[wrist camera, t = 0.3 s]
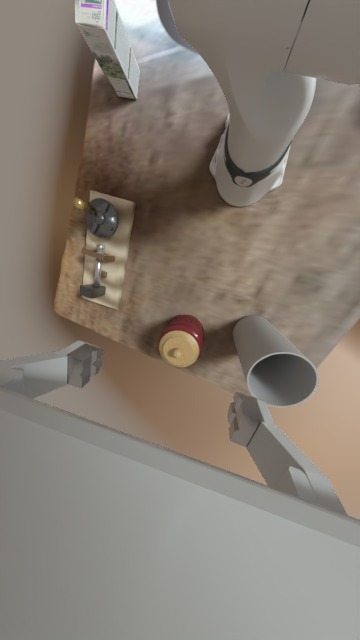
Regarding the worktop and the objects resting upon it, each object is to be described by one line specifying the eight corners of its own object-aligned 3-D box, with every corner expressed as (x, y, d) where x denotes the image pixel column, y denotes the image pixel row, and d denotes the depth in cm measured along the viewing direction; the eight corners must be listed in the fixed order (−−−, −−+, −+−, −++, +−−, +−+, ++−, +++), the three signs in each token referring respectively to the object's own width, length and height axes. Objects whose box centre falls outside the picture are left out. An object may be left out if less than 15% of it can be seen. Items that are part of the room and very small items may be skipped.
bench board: (93, 191, 51) (83, 185, 47) (135, 203, 50) (129, 198, 46) (84, 297, 63) (76, 299, 59) (118, 308, 62) (112, 311, 58)
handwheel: (88, 195, 48) (72, 185, 42) (121, 204, 47) (108, 196, 41) (85, 233, 51) (70, 229, 45) (115, 242, 50) (103, 239, 45)
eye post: (94, 250, 55) (81, 248, 50) (115, 256, 55) (104, 255, 49) (94, 254, 56) (81, 253, 50) (114, 260, 55) (104, 260, 50)
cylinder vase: (224, 329, 57) (234, 372, 33) (258, 307, 53) (295, 339, 29) (246, 356, 58) (269, 416, 35) (280, 337, 54) (332, 390, 31)
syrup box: (140, 69, 41) (105, -29, 28) (137, 102, 43) (102, 25, 29) (119, 66, 42) (74, -31, 28) (116, 98, 44) (73, 22, 30)
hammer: (99, 243, 54) (83, 240, 47) (111, 247, 54) (96, 244, 47) (94, 294, 60) (79, 297, 53) (104, 297, 59) (90, 301, 53)
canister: (166, 314, 59) (148, 332, 43) (203, 312, 57) (200, 331, 40) (170, 347, 63) (155, 376, 46) (205, 347, 60) (202, 378, 44)
